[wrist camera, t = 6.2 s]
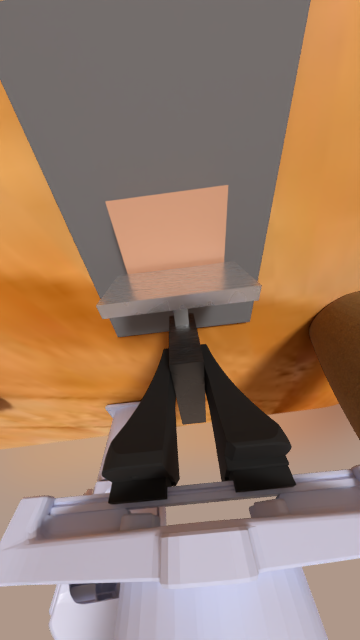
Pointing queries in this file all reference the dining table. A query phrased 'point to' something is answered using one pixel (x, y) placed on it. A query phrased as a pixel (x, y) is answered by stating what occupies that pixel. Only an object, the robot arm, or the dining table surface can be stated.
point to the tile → (171, 229)
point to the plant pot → (341, 352)
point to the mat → (155, 115)
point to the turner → (181, 316)
